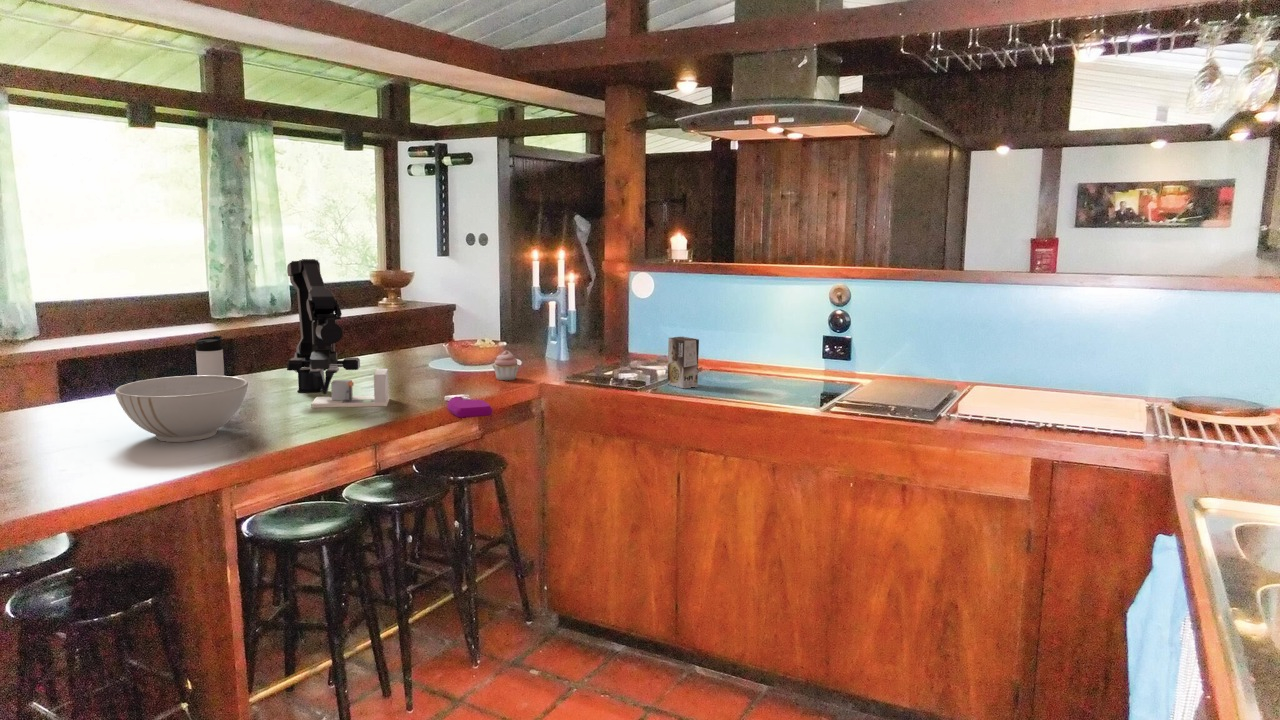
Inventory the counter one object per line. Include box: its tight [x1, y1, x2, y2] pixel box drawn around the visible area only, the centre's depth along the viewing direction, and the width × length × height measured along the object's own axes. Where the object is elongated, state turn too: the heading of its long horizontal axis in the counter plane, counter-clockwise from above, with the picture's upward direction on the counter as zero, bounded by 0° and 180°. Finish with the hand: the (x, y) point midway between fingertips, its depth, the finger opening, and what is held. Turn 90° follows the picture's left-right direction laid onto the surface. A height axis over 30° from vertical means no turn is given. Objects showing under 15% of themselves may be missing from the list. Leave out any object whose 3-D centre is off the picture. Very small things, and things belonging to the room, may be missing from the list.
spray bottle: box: [444, 394, 493, 419], centre depth 224 cm, size 3×11×24 cm
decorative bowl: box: [114, 374, 249, 443], centre depth 186 cm, size 27×27×12 cm
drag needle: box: [348, 380, 354, 401], centre depth 223 cm, size 2×2×5 cm
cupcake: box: [491, 349, 521, 381], centre depth 269 cm, size 9×9×10 cm
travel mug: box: [195, 335, 225, 376], centre depth 210 cm, size 6×7×20 cm
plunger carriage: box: [330, 379, 353, 400], centre depth 225 cm, size 5×8×5 cm, turn 14°
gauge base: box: [310, 368, 390, 409], centre depth 225 cm, size 20×10×9 cm, turn 104°
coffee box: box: [667, 336, 700, 389], centre depth 264 cm, size 9×6×16 cm
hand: (325, 393), depth 225 cm, fingers closed
